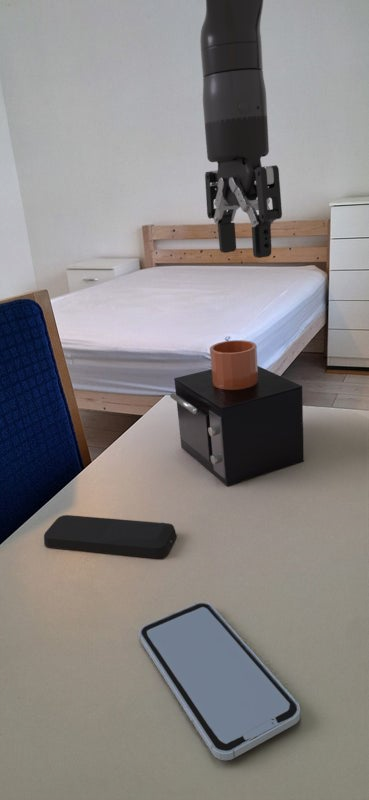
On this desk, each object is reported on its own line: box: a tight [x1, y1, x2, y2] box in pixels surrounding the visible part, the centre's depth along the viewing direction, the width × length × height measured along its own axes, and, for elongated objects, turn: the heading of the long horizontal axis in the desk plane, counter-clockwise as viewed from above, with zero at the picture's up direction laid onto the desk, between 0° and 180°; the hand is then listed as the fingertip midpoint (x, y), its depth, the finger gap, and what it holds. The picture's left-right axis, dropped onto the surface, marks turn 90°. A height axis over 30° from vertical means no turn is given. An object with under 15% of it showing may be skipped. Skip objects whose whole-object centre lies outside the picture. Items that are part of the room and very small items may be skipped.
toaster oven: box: [169, 365, 305, 487], centre depth 83 cm, size 14×14×11 cm
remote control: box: [43, 514, 178, 559], centre depth 68 cm, size 5×2×15 cm
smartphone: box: [138, 601, 301, 761], centre depth 49 cm, size 7×1×15 cm
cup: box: [209, 339, 259, 390], centre depth 80 cm, size 6×6×5 cm
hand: (244, 254), depth 77 cm, fingers open, 8 cm apart
